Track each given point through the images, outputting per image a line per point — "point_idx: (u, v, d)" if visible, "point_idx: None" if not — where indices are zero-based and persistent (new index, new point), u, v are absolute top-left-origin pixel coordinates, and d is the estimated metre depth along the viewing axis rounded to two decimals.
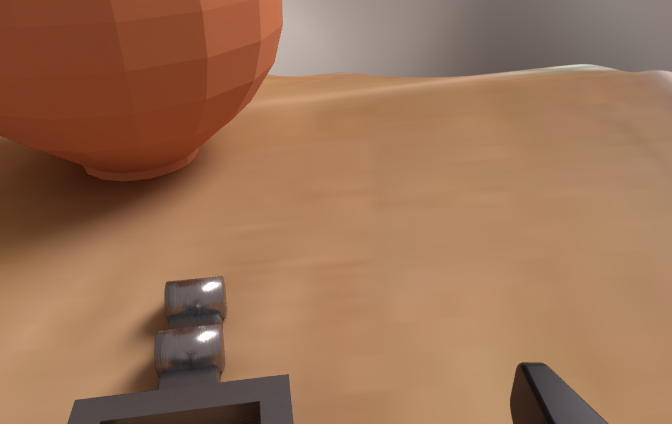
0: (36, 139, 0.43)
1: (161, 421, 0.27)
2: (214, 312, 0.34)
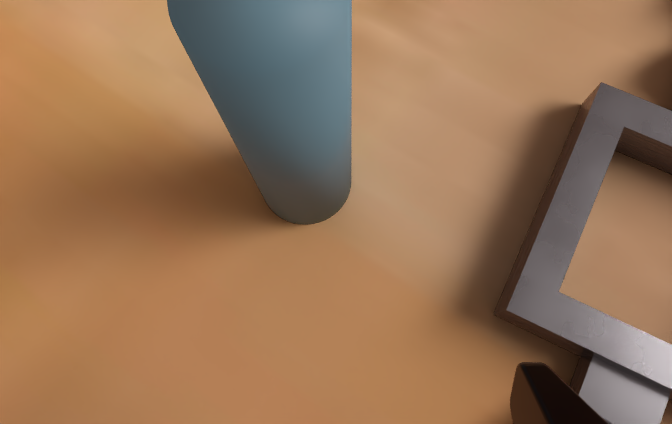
0: None
1: None
2: None
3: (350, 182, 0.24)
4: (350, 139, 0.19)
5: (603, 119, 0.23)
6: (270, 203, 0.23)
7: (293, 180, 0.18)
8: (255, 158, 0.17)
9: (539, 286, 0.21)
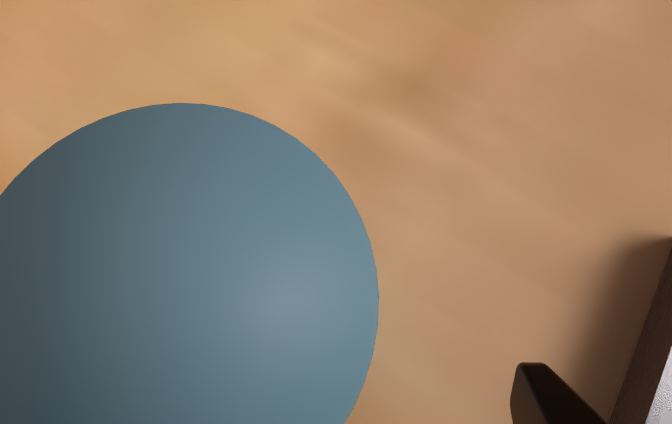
0: None
1: None
2: None
3: None
4: None
5: None
6: None
7: None
8: None
9: None
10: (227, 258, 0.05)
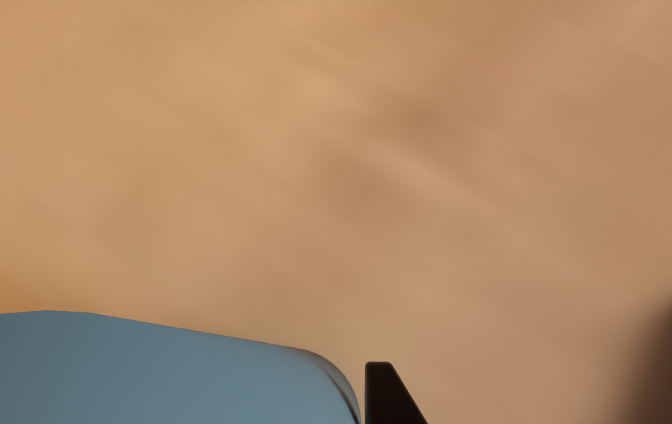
0: None
1: None
2: None
3: None
4: None
5: None
6: None
7: None
8: None
9: None
10: None
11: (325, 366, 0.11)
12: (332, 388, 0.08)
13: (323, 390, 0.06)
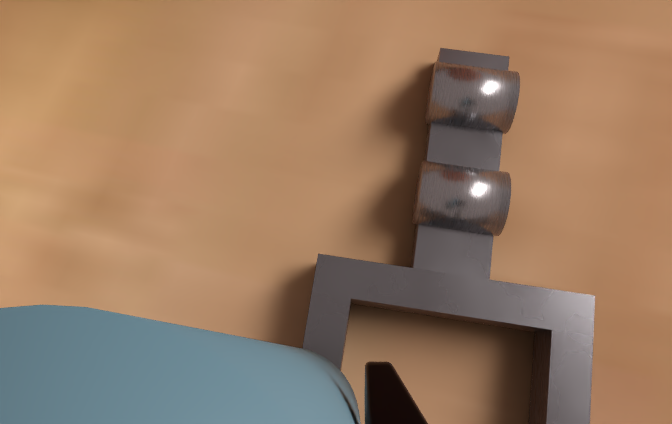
0: None
1: (421, 311, 0.21)
2: (494, 131, 0.23)
3: None
4: None
5: (328, 297, 0.21)
6: None
7: None
8: None
9: None
10: None
11: (324, 364, 0.11)
12: (330, 385, 0.08)
13: (321, 387, 0.06)
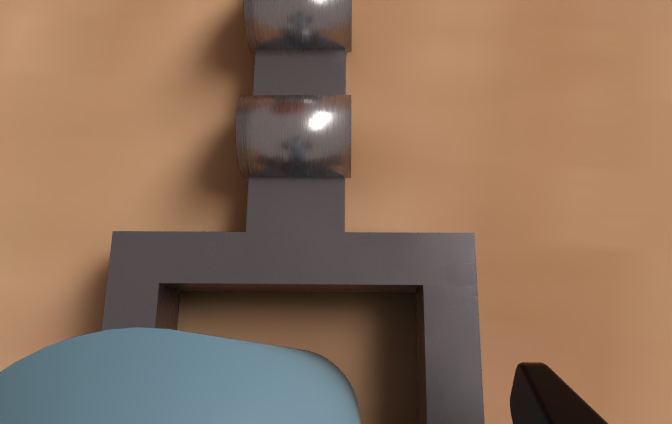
0: None
1: (258, 286, 0.16)
2: (334, 48, 0.18)
3: None
4: None
5: (129, 285, 0.16)
6: None
7: None
8: None
9: None
10: None
11: (327, 366, 0.13)
12: (334, 384, 0.09)
13: (327, 385, 0.08)
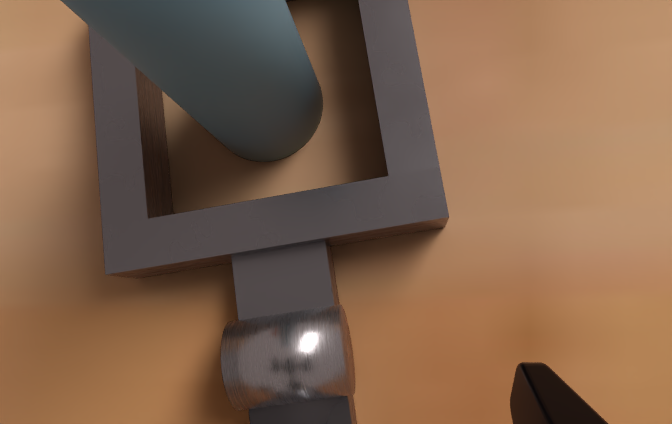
0: None
1: None
2: None
3: (319, 96, 0.18)
4: (289, 25, 0.14)
5: None
6: (219, 140, 0.18)
7: (216, 93, 0.13)
8: (146, 66, 0.12)
9: (126, 226, 0.17)
10: None
11: None
12: None
13: None
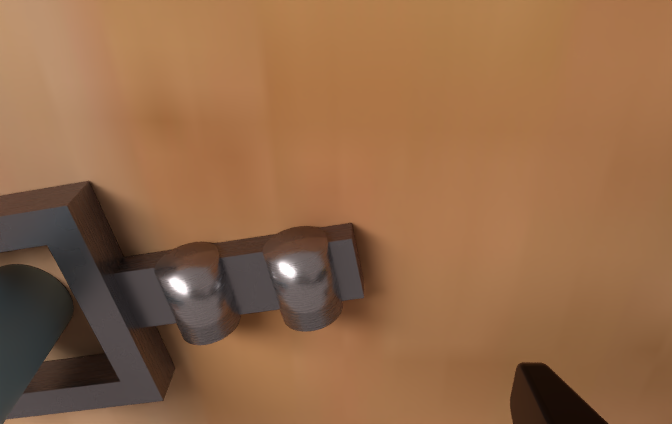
0: None
1: None
2: None
3: (6, 274, 0.24)
4: None
5: None
6: (55, 342, 0.24)
7: None
8: None
9: (129, 392, 0.25)
10: None
11: None
12: None
13: None
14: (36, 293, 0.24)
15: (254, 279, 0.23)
